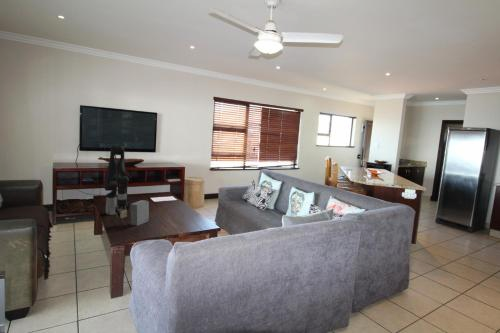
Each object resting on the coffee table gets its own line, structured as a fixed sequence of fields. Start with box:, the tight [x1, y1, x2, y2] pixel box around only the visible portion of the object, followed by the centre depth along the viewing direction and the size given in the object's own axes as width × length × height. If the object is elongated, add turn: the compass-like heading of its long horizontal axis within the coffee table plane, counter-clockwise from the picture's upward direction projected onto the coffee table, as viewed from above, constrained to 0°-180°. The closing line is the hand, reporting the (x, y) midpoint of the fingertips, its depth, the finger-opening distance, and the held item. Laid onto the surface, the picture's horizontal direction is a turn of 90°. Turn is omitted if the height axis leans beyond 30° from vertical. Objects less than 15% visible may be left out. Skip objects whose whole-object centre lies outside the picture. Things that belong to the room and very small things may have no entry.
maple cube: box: [116, 209, 128, 219], centre depth 259 cm, size 6×6×6 cm
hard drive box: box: [130, 199, 150, 227], centre depth 267 cm, size 16×8×20 cm, turn 158°
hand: (121, 215), depth 259 cm, fingers closed on maple cube, 6 cm apart
